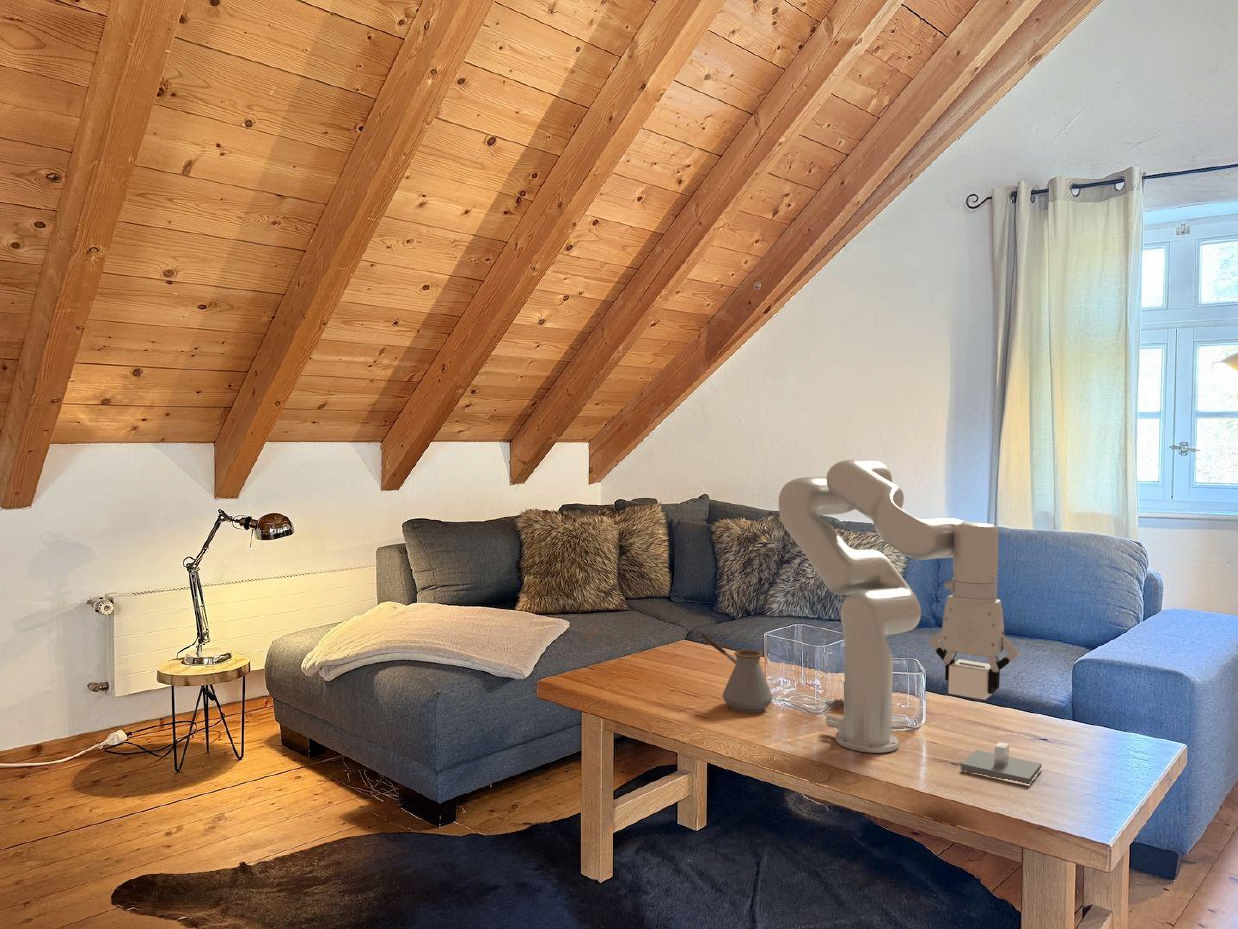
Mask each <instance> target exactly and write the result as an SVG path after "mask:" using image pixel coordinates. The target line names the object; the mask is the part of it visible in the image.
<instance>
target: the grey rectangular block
mask: <svg viewBox="0 0 1238 929" xmlns="http://www.w3.org/2000/svg"><path fill="white" fill-rule="evenodd" d="M1009 752H1010V744H1009V743H1006V742H1000V741H999V742H998V743H997V744H995V746H994V753H995V760H994V765H998V766H1003V767H1005V766H1006V765H1007V764H1008V762H1009V757H1010V753H1009Z"/></svg>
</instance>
